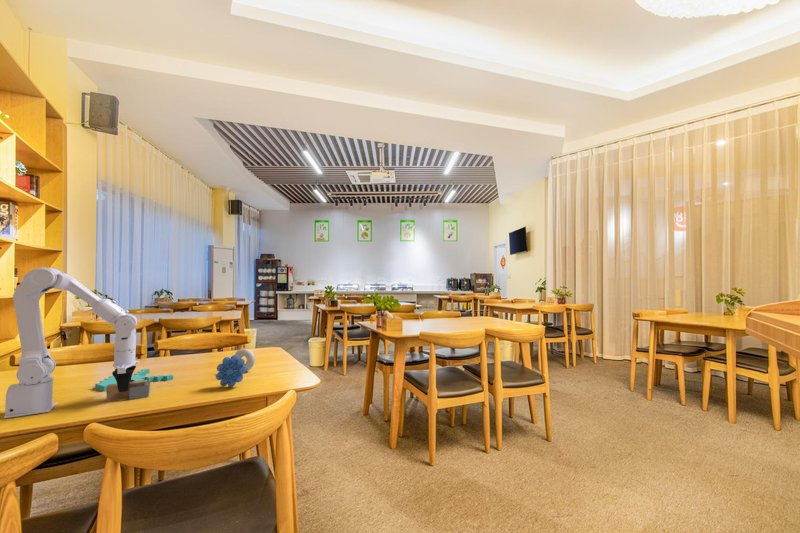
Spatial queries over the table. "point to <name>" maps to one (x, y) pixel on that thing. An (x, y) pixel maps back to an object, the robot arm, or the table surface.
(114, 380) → the alien figure
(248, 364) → the donut
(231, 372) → the blue bumpy cluster
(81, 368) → the table surface
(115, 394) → the slat
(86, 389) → the table surface
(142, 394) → the end cap
